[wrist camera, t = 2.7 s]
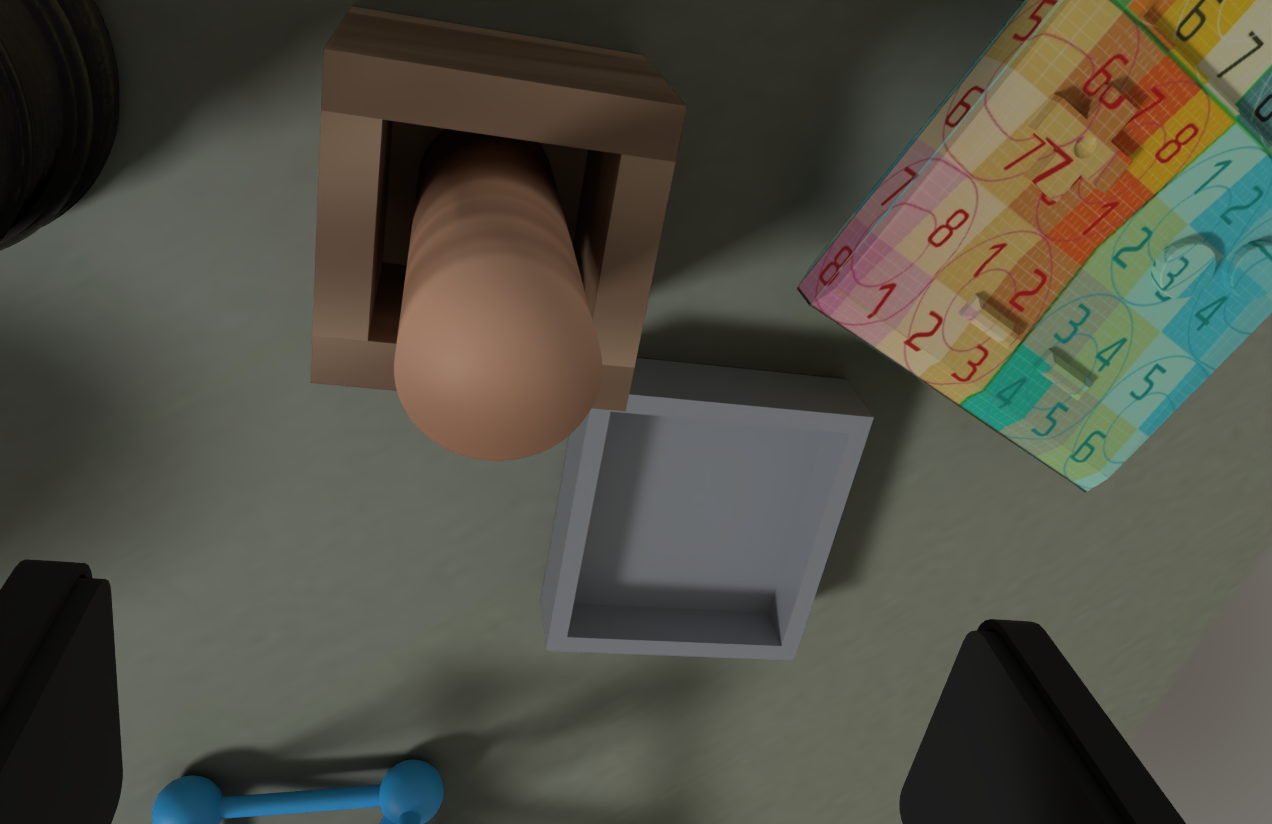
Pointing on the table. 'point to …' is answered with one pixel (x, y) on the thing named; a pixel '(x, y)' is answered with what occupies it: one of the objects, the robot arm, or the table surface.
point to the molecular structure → (306, 799)
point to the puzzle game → (1074, 225)
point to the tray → (701, 513)
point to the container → (52, 109)
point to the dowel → (493, 304)
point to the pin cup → (493, 105)
